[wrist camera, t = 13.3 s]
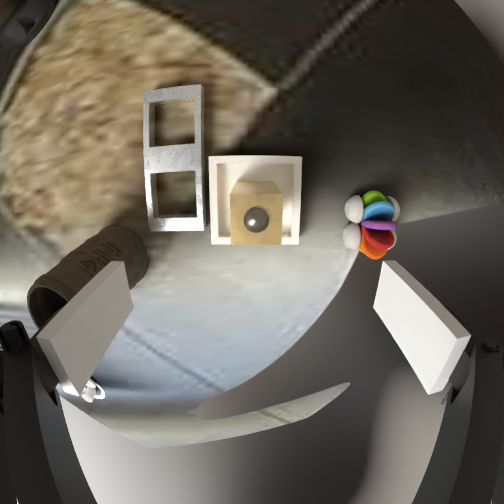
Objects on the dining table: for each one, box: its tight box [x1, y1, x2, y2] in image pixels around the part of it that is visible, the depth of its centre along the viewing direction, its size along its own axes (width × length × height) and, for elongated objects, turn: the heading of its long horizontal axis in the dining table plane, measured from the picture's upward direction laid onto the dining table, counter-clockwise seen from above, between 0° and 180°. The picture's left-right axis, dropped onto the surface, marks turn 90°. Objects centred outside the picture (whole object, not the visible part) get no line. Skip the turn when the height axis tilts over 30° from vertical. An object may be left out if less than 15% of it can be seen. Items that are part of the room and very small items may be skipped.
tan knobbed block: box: [230, 181, 283, 245], centre depth 32 cm, size 5×5×12 cm
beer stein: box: [27, 226, 148, 329], centre depth 33 cm, size 15×10×20 cm
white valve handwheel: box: [82, 379, 105, 402], centre depth 53 cm, size 9×8×4 cm
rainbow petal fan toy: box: [343, 191, 400, 259], centre depth 36 cm, size 8×10×7 cm
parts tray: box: [209, 155, 302, 244], centre depth 37 cm, size 12×12×2 cm
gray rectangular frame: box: [143, 84, 207, 231], centre depth 35 cm, size 20×8×2 cm, turn 0°
